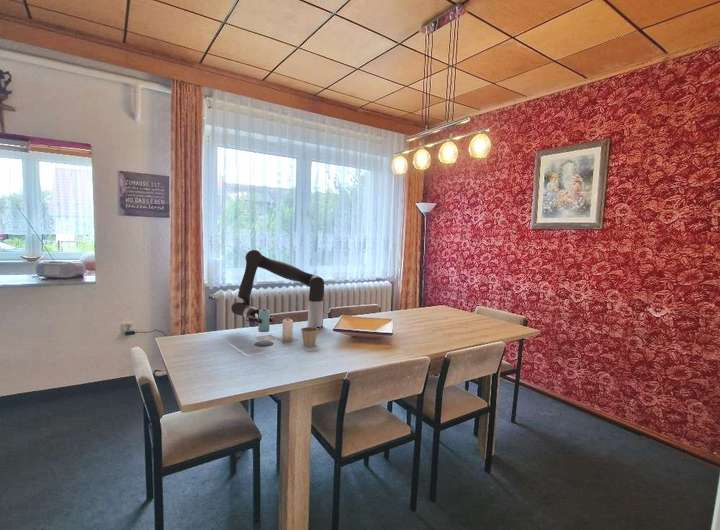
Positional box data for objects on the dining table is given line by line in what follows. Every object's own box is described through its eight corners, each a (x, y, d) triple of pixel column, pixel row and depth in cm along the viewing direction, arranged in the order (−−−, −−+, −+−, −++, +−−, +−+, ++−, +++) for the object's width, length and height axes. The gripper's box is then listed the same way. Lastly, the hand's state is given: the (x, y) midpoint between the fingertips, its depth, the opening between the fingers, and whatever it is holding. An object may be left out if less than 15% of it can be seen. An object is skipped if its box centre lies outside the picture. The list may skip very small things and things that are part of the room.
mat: (268, 340, 193) (268, 339, 193) (277, 345, 186) (277, 344, 186) (251, 344, 187) (251, 342, 187) (259, 349, 179) (259, 347, 179)
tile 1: (270, 335, 204) (270, 334, 204) (278, 339, 197) (278, 338, 197) (254, 338, 197) (254, 337, 197) (262, 342, 190) (262, 341, 190)
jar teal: (266, 328, 190) (267, 307, 189) (271, 331, 186) (271, 309, 185) (256, 330, 186) (257, 308, 185) (261, 332, 182) (262, 310, 181)
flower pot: (298, 343, 192) (298, 327, 192) (314, 341, 196) (315, 326, 196) (303, 348, 184) (303, 332, 183) (320, 346, 188) (320, 330, 187)
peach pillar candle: (289, 337, 200) (289, 317, 199) (294, 340, 195) (294, 319, 194) (280, 339, 196) (280, 318, 195) (285, 341, 192) (285, 320, 191)
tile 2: (290, 337, 203) (290, 336, 203) (299, 341, 195) (299, 340, 195) (274, 339, 196) (274, 338, 196) (283, 344, 189) (283, 343, 189)
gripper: (240, 308, 191) (253, 315, 178) (264, 306, 200) (279, 312, 188) (239, 322, 191) (253, 329, 179) (264, 319, 201) (278, 326, 188)
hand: (266, 320), depth 183 cm, fingers closed on jar teal, 5 cm apart
